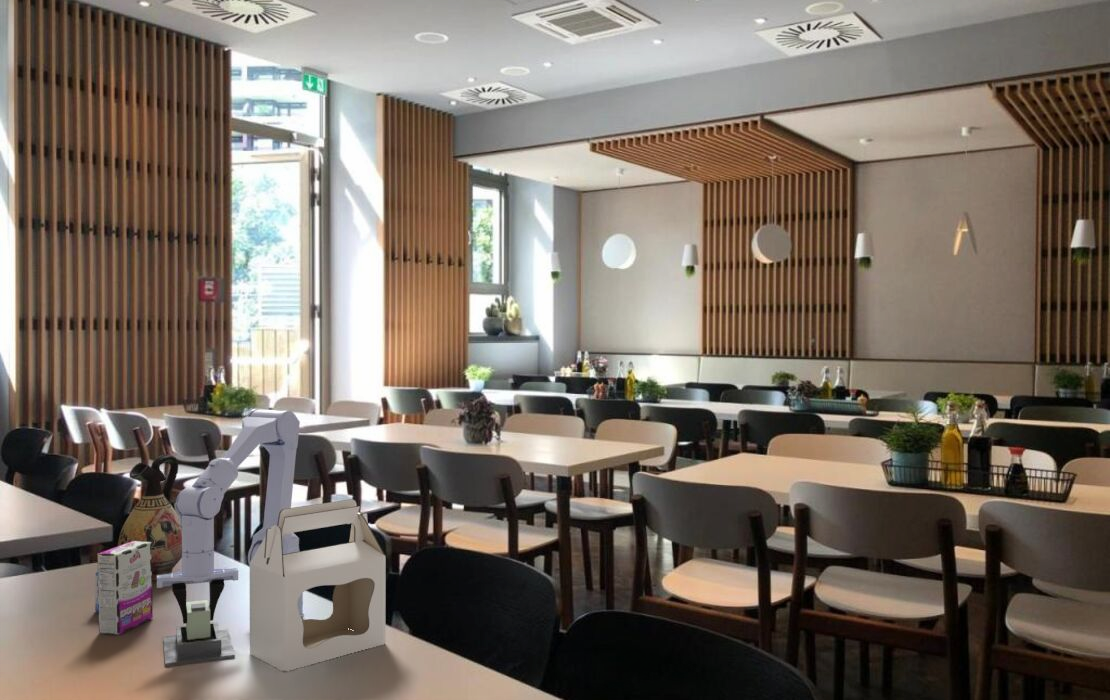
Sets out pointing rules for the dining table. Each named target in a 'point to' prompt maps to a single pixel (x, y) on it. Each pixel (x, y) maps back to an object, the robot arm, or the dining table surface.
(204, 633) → the pale green block
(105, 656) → the dining table surface
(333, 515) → the gable box
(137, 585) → the candy bar box
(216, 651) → the chassis
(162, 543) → the ceramic jug
